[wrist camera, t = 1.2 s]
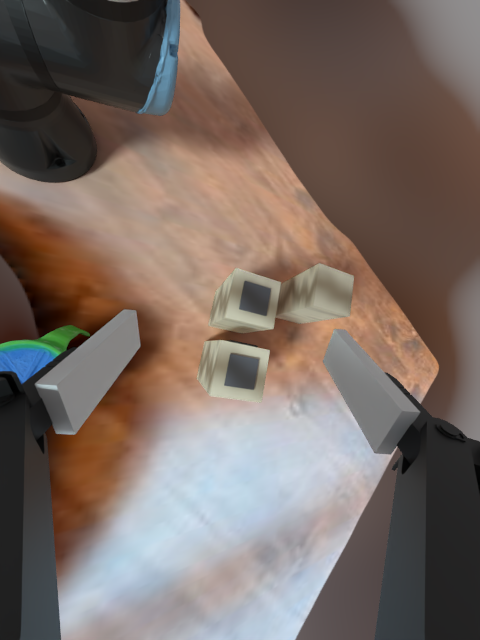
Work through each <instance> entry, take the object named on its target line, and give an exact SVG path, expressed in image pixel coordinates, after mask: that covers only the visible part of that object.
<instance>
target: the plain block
mask: <svg viewBox="0 0 480 640" xmlns="http://www.w3.org/2000/svg"><path fill="white" fill-rule="evenodd" d="M353 281H354V276H353V275H350V274H348V273H345V272H342V271H339V270H337V269H334V268H331V267H329V266H326V265H323V264H320V263H319V264H317V265H315V266H313V267H311V268H309V269H308V270H306V271H304V272H302V273H300V274H298V275H297V276H295V277H293V278H291V279H289V280H287V281H285V282H284V283H282V284H281V286H280V292H279V298H278V304H277V310H276V317H275V318H279V319H283V320H287V321H291V322H294V323H298V324H303V323H309V322H316V321H322V320H329V319H335V318H342V317H349V316H350V310H351V301H352V291H353Z"/></svg>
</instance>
